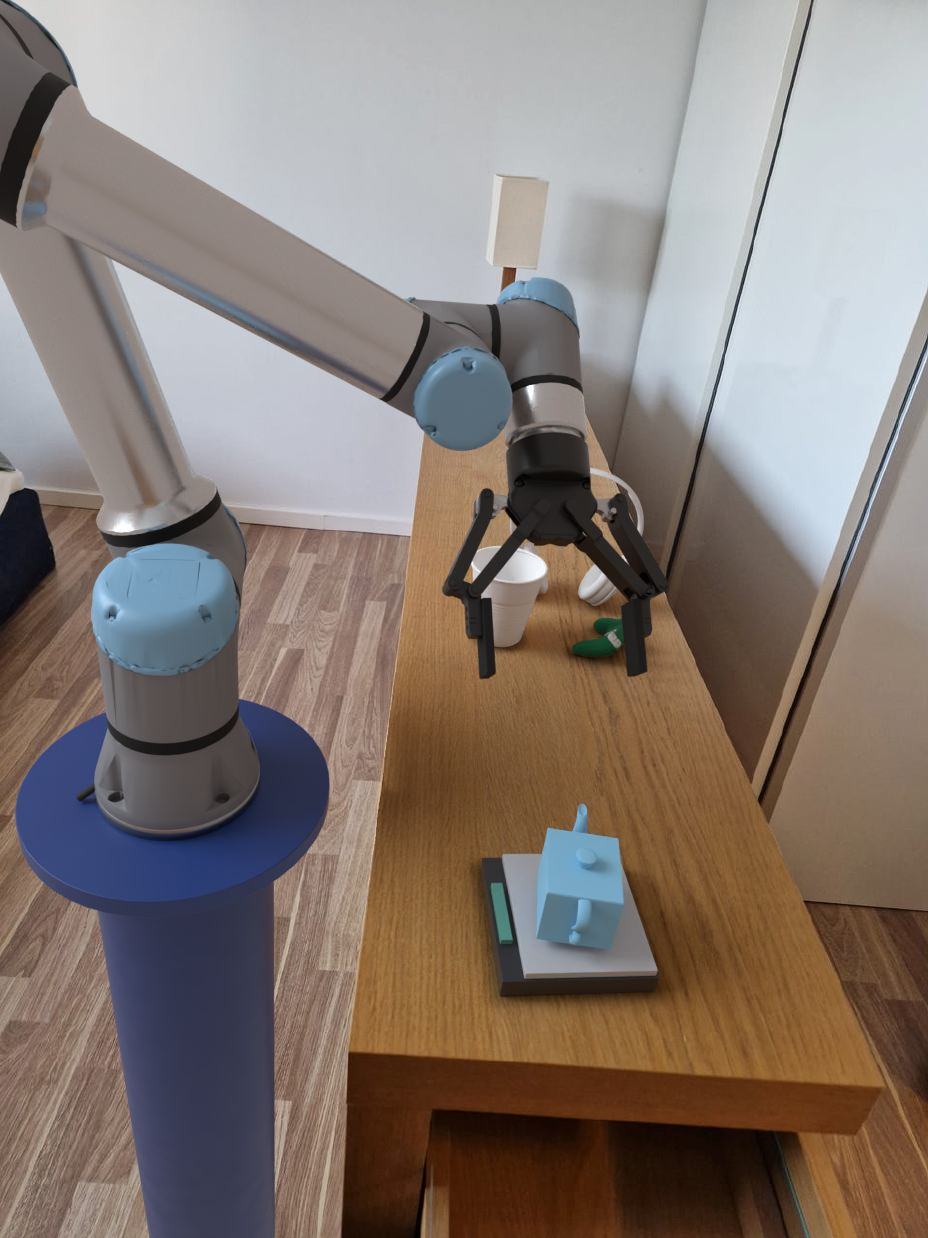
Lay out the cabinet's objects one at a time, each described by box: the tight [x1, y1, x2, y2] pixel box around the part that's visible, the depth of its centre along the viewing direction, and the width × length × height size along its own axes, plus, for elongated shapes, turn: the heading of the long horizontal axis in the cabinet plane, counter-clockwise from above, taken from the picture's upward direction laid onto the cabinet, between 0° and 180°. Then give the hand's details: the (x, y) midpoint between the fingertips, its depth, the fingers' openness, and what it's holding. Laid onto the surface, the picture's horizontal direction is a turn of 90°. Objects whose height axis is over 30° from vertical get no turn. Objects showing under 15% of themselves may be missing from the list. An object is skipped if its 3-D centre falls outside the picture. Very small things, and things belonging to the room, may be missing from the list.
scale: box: [479, 853, 660, 997], centre depth 76 cm, size 13×13×2 cm
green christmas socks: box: [571, 617, 624, 658], centre depth 116 cm, size 9×4×6 cm
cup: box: [470, 545, 549, 648], centre depth 113 cm, size 10×10×11 cm
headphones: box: [509, 467, 645, 607], centre depth 122 cm, size 7×18×20 cm, turn 84°
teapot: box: [536, 803, 624, 950], centre depth 73 cm, size 12×6×8 cm, turn 175°
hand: (564, 675), depth 75 cm, fingers open, 13 cm apart
